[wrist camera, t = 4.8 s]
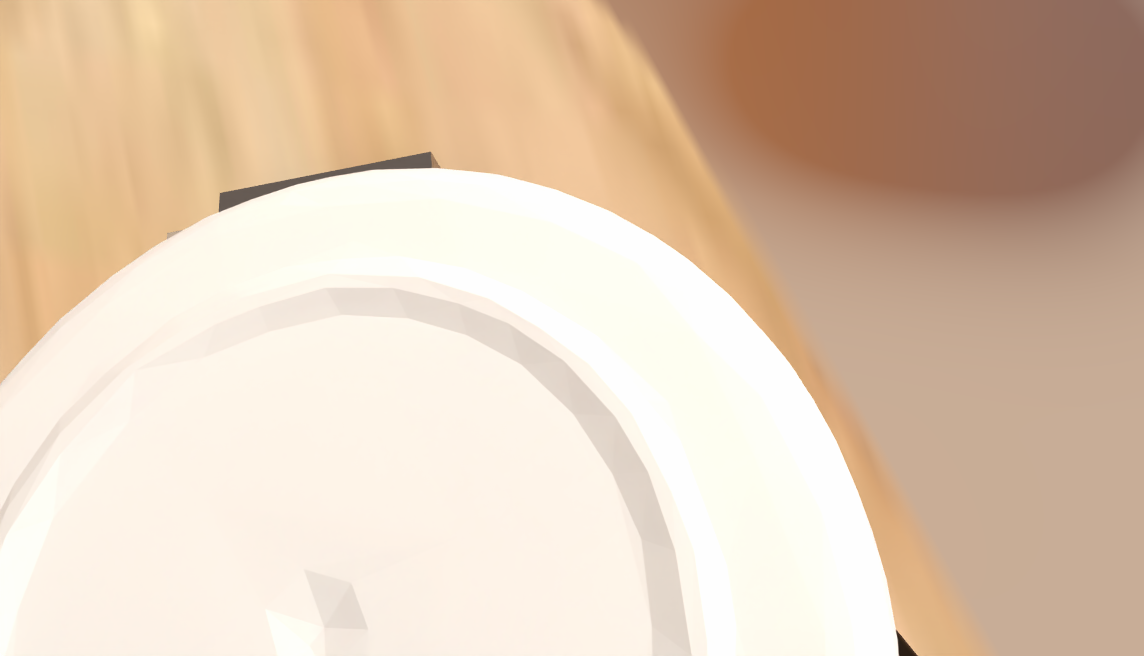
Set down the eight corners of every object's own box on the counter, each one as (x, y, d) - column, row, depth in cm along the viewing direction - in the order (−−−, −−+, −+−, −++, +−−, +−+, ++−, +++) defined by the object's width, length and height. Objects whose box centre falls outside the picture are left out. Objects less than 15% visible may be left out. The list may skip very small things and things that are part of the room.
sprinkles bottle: (706, 694, 14) (1064, 1889, 1) (498, 672, 15) (-503, 1352, 2) (707, 475, 15) (885, 114, 3) (517, 465, 16) (-3, 136, 4)
